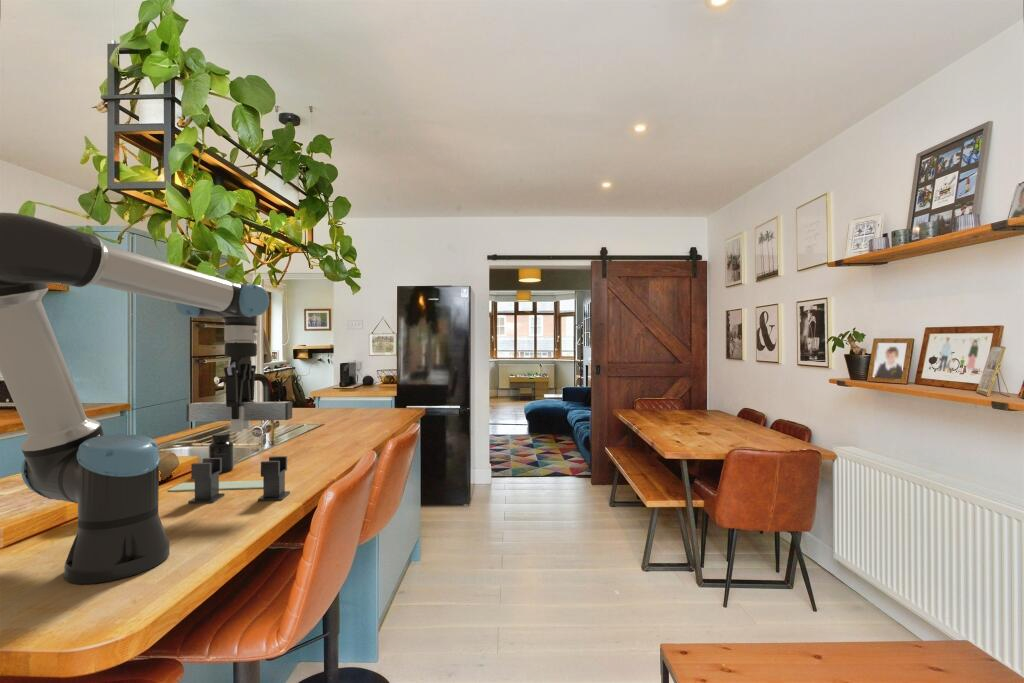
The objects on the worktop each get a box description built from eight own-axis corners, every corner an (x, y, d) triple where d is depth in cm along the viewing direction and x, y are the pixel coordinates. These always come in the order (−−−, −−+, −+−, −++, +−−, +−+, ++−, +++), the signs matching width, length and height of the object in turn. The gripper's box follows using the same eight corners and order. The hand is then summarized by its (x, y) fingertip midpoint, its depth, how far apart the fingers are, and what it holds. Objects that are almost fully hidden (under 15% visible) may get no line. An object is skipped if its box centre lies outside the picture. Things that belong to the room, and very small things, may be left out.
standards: (281, 500, 126) (281, 461, 126) (188, 503, 123) (188, 464, 123) (290, 493, 132) (290, 456, 132) (201, 496, 130) (201, 458, 130)
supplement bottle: (212, 469, 158) (212, 432, 158) (235, 467, 160) (235, 431, 160) (205, 474, 151) (205, 436, 151) (230, 472, 153) (230, 435, 153)
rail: (287, 419, 127) (287, 402, 127) (186, 421, 125) (186, 404, 125) (292, 418, 131) (292, 401, 131) (193, 419, 128) (193, 402, 128)
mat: (272, 488, 137) (272, 486, 137) (167, 491, 134) (167, 490, 134) (282, 481, 144) (282, 479, 144) (182, 484, 141) (182, 482, 141)
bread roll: (185, 471, 155) (185, 447, 155) (169, 484, 141) (169, 457, 141) (150, 474, 152) (150, 449, 152) (129, 487, 137) (129, 460, 138)
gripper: (241, 341, 120) (241, 435, 120) (268, 342, 137) (267, 424, 136) (209, 341, 119) (209, 436, 119) (240, 342, 136) (239, 425, 135)
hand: (240, 429), depth 128 cm, fingers closed on rail, 3 cm apart
